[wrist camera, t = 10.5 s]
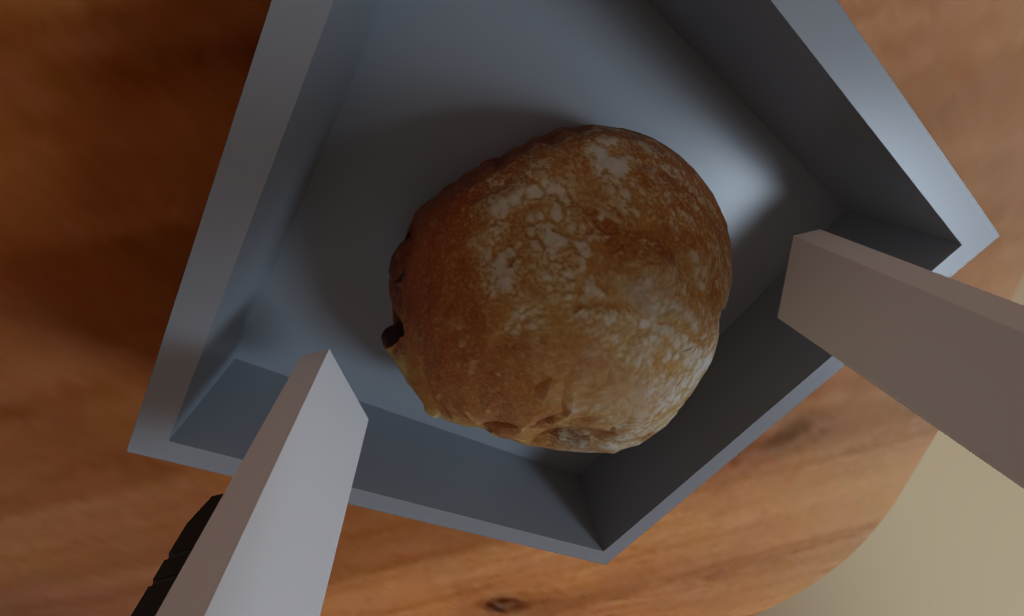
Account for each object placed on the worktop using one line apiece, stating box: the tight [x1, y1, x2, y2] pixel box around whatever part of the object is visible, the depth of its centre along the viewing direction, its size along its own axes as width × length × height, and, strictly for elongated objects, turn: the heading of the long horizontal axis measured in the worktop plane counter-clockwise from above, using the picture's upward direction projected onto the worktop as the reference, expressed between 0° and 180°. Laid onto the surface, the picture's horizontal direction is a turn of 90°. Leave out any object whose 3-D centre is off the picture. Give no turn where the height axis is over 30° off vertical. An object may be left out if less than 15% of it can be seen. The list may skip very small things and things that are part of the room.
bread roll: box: [381, 124, 733, 454], centre depth 12 cm, size 10×10×8 cm
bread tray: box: [127, 0, 1000, 565], centre depth 12 cm, size 18×18×4 cm
